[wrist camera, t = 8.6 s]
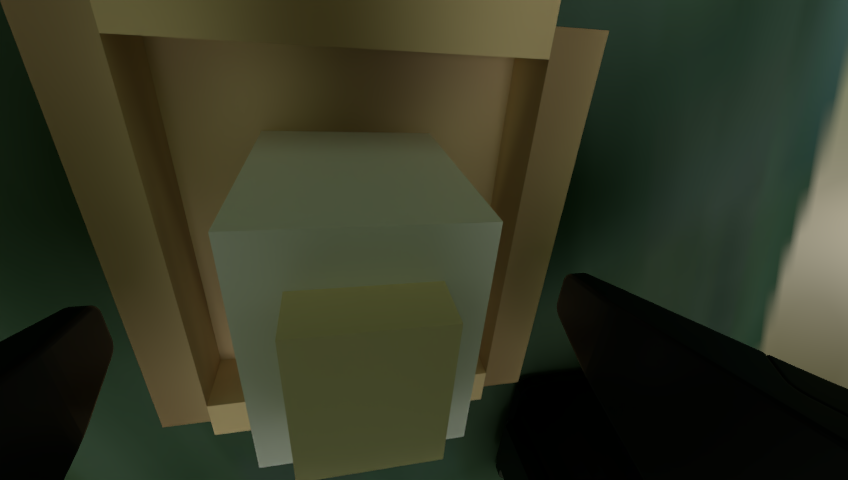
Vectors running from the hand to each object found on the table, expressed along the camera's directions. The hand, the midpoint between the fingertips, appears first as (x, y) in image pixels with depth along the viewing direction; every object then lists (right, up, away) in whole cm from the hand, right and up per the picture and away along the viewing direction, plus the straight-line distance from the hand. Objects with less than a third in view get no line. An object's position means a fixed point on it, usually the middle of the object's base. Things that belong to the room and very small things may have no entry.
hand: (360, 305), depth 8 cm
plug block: (-1, +2, +3) cm, 4 cm away
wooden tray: (-1, +2, +4) cm, 4 cm away
